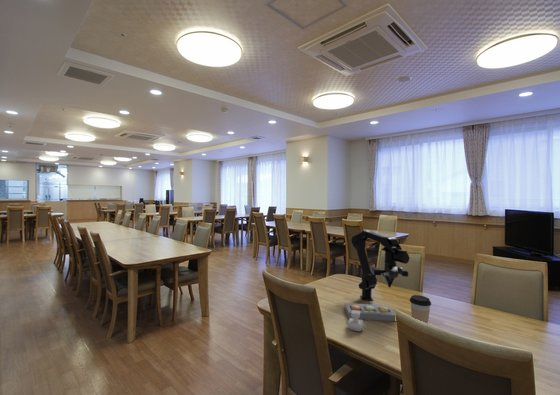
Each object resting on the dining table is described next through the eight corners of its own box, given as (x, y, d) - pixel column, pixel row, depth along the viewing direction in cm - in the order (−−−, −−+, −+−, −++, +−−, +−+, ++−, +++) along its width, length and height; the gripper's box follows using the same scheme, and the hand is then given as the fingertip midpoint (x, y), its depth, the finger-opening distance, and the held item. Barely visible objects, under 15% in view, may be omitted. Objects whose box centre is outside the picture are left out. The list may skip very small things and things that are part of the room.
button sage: (364, 311, 153) (364, 305, 153) (372, 312, 152) (372, 305, 152) (366, 315, 148) (366, 308, 148) (374, 315, 148) (375, 309, 148)
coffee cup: (433, 335, 130) (434, 302, 129) (411, 332, 131) (412, 300, 131) (426, 325, 139) (427, 295, 139) (406, 323, 141) (407, 293, 141)
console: (344, 308, 158) (345, 302, 158) (388, 310, 156) (388, 304, 156) (348, 318, 145) (349, 312, 145) (396, 321, 143) (397, 314, 143)
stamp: (365, 328, 135) (366, 310, 135) (364, 334, 128) (365, 316, 128) (346, 324, 138) (347, 307, 138) (344, 330, 132) (345, 312, 132)
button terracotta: (350, 311, 153) (350, 304, 153) (358, 311, 153) (358, 305, 153) (351, 314, 149) (352, 307, 149) (360, 314, 149) (360, 308, 149)
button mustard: (378, 312, 152) (378, 306, 152) (386, 312, 152) (387, 306, 152) (380, 316, 148) (381, 309, 148) (389, 316, 148) (389, 310, 148)
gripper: (377, 262, 152) (376, 291, 152) (412, 263, 151) (411, 293, 151) (371, 257, 163) (371, 284, 163) (405, 259, 162) (404, 286, 162)
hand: (389, 287), depth 159 cm, fingers closed
